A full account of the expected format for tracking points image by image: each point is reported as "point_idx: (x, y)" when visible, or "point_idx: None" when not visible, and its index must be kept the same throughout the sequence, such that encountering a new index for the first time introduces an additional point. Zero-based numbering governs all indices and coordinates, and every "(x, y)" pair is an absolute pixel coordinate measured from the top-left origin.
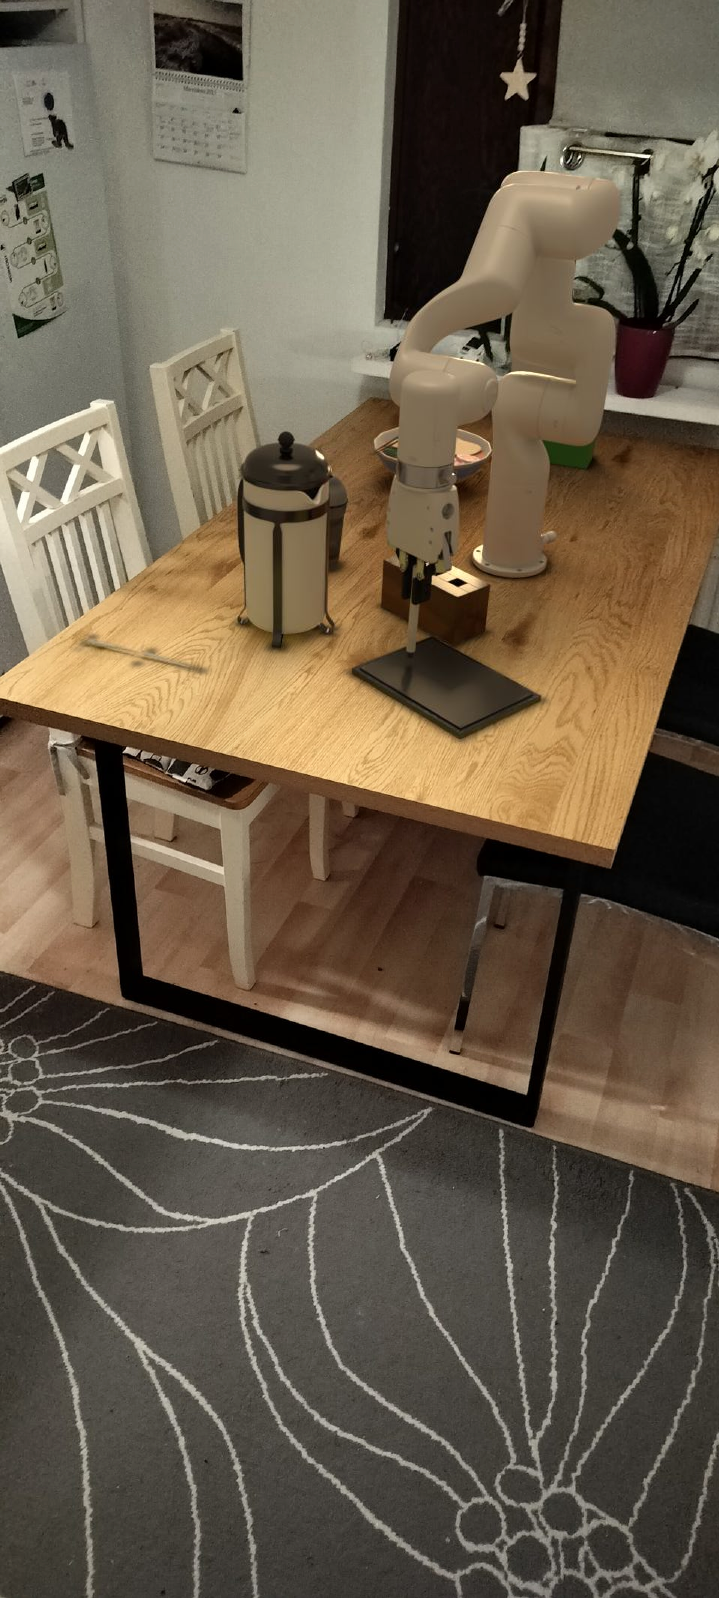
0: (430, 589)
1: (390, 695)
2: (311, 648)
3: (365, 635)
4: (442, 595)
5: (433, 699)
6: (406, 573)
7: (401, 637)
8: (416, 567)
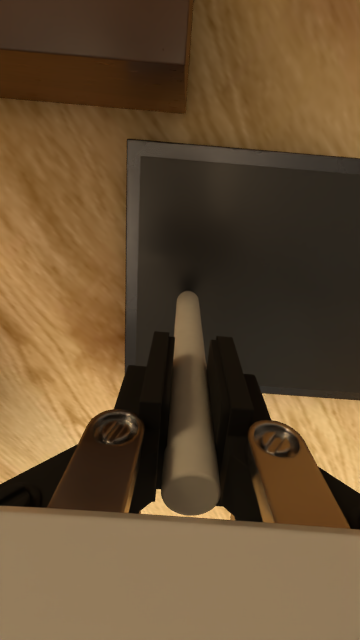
0: (260, 392)
1: None
2: (6, 366)
3: (15, 249)
4: (97, 66)
5: (317, 363)
6: (155, 494)
7: (69, 189)
8: (197, 511)
